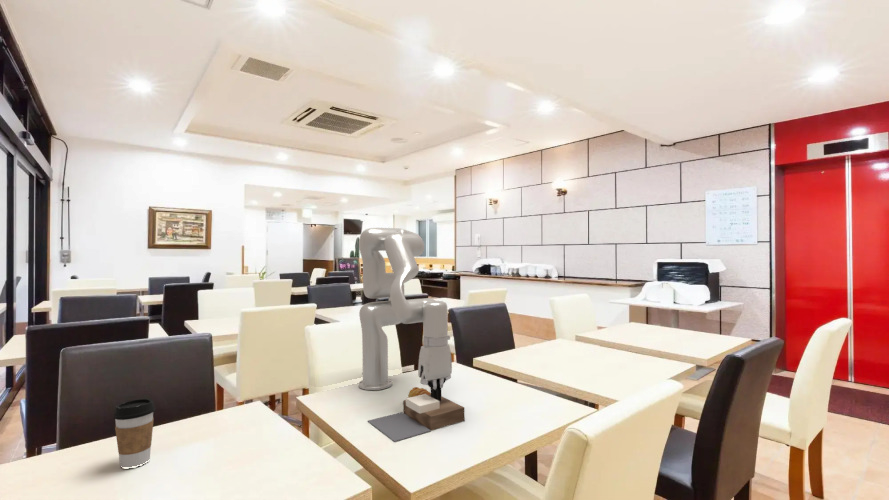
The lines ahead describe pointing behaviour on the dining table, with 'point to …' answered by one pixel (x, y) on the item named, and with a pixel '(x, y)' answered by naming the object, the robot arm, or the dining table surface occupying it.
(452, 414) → the serving board
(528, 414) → the dining table surface
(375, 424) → the mat
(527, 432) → the dining table surface
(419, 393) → the pastry
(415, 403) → the tile
